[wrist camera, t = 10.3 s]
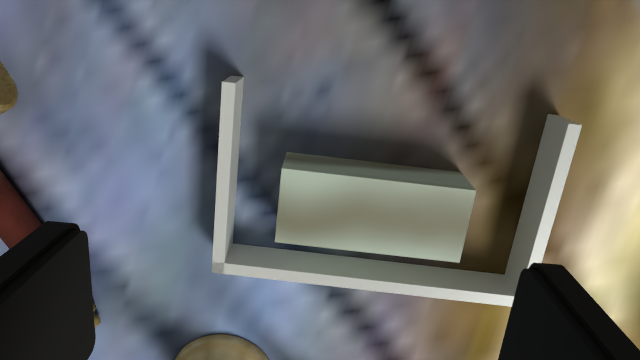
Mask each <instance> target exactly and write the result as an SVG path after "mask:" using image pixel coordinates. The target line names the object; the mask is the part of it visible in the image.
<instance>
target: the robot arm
mask: <svg viewBox="0 0 640 360" xmlns="http://www.w3.org/2000/svg"><path fill="white" fill-rule="evenodd" d="M94 344H95V324H94V311H93V298H92V285H91V273H90V260H89V247H88V237H87V234H86V232H85V231H80V229H79V226H78V225H77V224H75V223H64V222H52V221H47V222H45V223H43V224H42V225H40V226H39V227H38V228H37V229H35V230H34V231H33V232H31V233H30V234H29V235H28V236H26V237H25V238H24V239H22V240H21V241H20V242H18V243H17V244H16V245H15V246H13V247H12V248H11V249H9V250H8V251H7V252H6V253H4V254H3V255H2V256H0V360H87V359H88V358H89V356H90V355H91V353H92V351H93V348H94ZM498 360H640V350H639V349H638V348H637V347H636V346H635V345H634V344H633V342H632V341H631V340H630V339H629V338H628V337H627V336H626V335H625V334H624V333H623V331H622V330H621V329H620V328H619V327H618V326H617V325H616V324H615V323H614V321H613V320H612V319H611V318H610V317H609V316H608V315H607V314H606V313H605V311H604V310H603V309H602V308H601V307H600V306H599V305H598V304H597V303H596V302H595V300H594V299H593V298H592V297H591V296H590V295H589V294H588V293H587V292H586V290H585V289H584V288H583V287H582V286H581V285H580V284H579V283H578V282H577V281H576V279H575V278H574V277H573V276H572V275H571V274H570V273H569V272H568V271H567V269H566V268H565V267H564V266H562V265H557V264H545V263H532V264H531V265H530V267H529V269H526V268H524V269H523V270H522V271H521V273H520V276H519V280H518V284H517V288H516V292H515V296H514V300H513V304H512V308H511V311H510V315H509V319H508V323H507V327H506V331H505V335H504V339H503V343H502V347H501V350H500V354H499V358H498Z"/></svg>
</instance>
